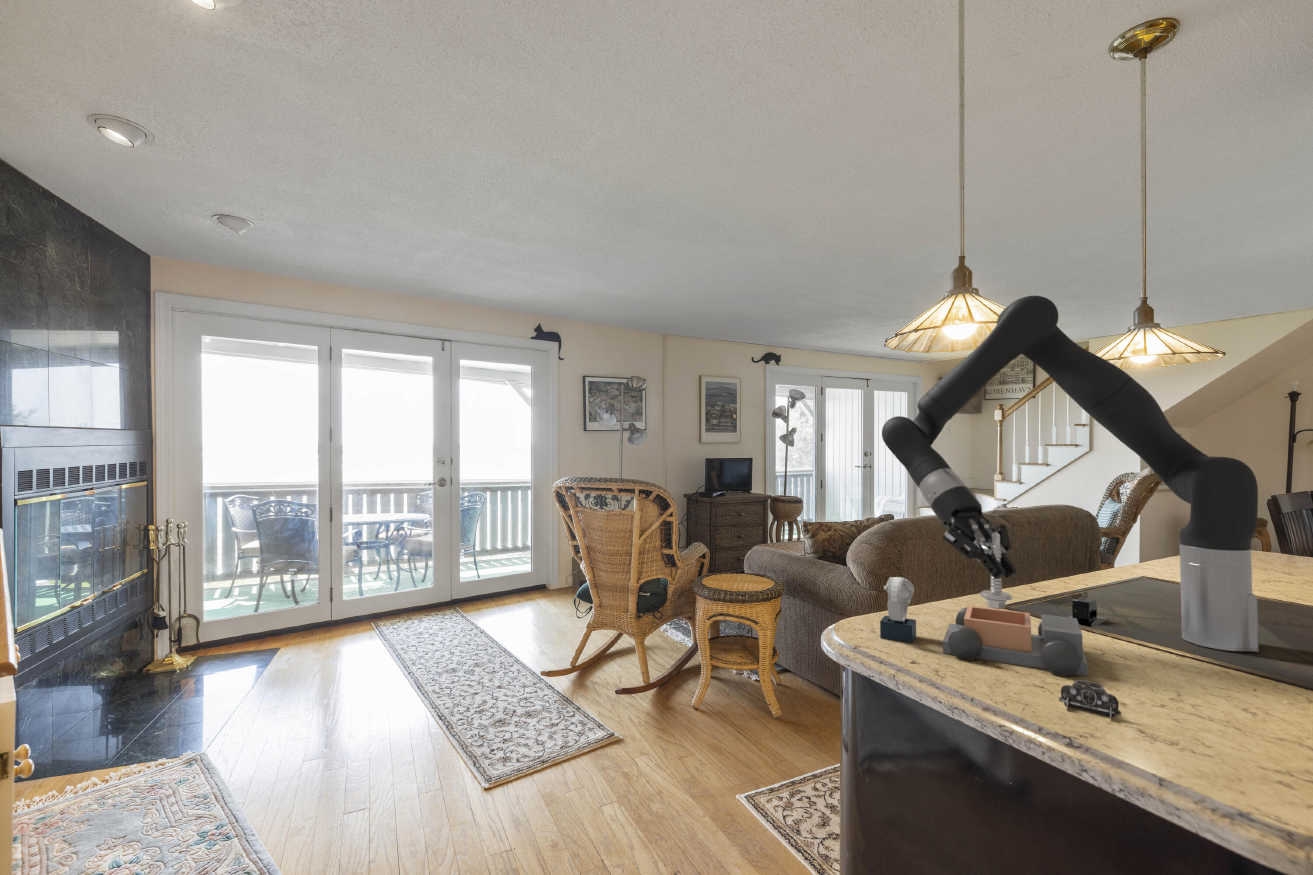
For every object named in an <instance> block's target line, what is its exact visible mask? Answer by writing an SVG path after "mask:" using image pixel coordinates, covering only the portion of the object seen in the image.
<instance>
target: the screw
mask: <svg viewBox="0 0 1313 875" xmlns="http://www.w3.org/2000/svg"><path fill="white" fill-rule="evenodd" d="M1001 550H1002V549H1000V534H998V533H997V532H994V533H992V534H991V550H990V551H991V553H990V554H993V555H994V556H995V558H996V559H997V560H998V562H999V563H1000V564H1002V563H1001V560H1002V559H1001V557H1002V556H1001V554H1002V552H1001ZM989 575H990V577H989V578H990V580H989V582H990V584H989V585H990V587H989V588H990V589H988V590H987V589H984V590H982V591H981V592H979V596H980V597H982V598H983V599H984V598H985V599H984V600H986V606H987V607H988V608H992V609H1000V610H1006V602H1008V601H1011V600H1012V599H1013V596H1012V595H1011V594H1010V593H1009V592H1006V591H1003V589H1002V588H1003V586H1002V585H1003V583H1002V581H1003V579H1002V578H1003V576H1002V577H1001V578H1000V579H995V578H994V577H993V576H992V575H991V574H990V573H989Z"/></svg>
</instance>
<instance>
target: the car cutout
mask: <svg viewBox="0 0 1313 875" xmlns="http://www.w3.org/2000/svg"><path fill="white" fill-rule="evenodd" d="M1058 701H1059V702H1060V703H1063V704H1064V706H1065V707H1066V710H1068V709H1069V708H1071V709H1076V710H1081V711H1084V712H1089V713H1092V714H1098V715H1101V716H1106V717H1109V719H1110V720H1109V721H1110V722H1112V718H1115V717H1116V715H1117V716H1121V715H1122V711H1121V710H1119V700H1118V698H1117V697H1116V696H1115V695H1114V694H1112V693H1108V692H1107V691H1106V690H1105V688H1104V686H1103V685H1101V684H1099V683H1096V682H1093V681H1088V680H1083V679H1081V680H1080V679H1075V680H1074V682H1073V683H1072V684H1071V685H1070V684H1065V685H1063V686H1062V687H1061V689H1060V696H1059V697H1058Z"/></svg>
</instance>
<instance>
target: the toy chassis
mask: <svg viewBox="0 0 1313 875" xmlns="http://www.w3.org/2000/svg"><path fill="white" fill-rule="evenodd" d="M1040 615H1041V621H1040V622H1039V623H1038V626H1037V632H1038V633H1037V634H1033V633H1032V625H1031V624H1032V621H1031V612H1024V611H1023V612H1022V611H1016V610H1006V609H995V608H990V607H983V606H982V607H981V606H974V605H967V606H966V607H964V608H961V609H960V610H959V611H958V612H957V614H956V617H955V623H952V622H951V623H950V622H949V624H948V627H947V630H946V632H945V634H944V637H943V640H942V653H943V654H946V655H947V654H948V655H954V656H955V657H957V658H958V659H960V660H962V661H974V660H976V659H980V660H984V661H991V662H998V663H1005V664H1010V665H1016V666H1017V665H1018V666H1022V667H1023V666H1024V667H1027V668H1028V667H1029V668H1036V669H1041V670H1047V671H1049V673H1052V674H1053V675H1056V676H1060V677H1070V676H1073V675H1079V676H1085V677H1088V676H1089V670H1088V669H1089V668H1088V661H1087V656H1086V654H1085V651H1084V648H1083V645H1084V643H1083V642H1084V641H1083V632H1082V629H1081V625H1079V623H1078V621H1077V618H1069V617H1070V616H1061V615H1059V616H1058V615H1050V614H1043V613H1042V614H1040Z"/></svg>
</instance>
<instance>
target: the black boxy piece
mask: <svg viewBox="0 0 1313 875" xmlns="http://www.w3.org/2000/svg"><path fill="white" fill-rule="evenodd" d="M1071 606H1072V608H1071V610H1072V611H1071V612H1072V613H1071V614H1072V615H1069V616H1068V617H1069V618H1077V621H1078V623H1079V626H1085V627H1090V628H1094V627H1095V626H1098V625H1100V624H1102V623H1104V622H1106V621H1109V620H1110V618H1107V617H1102V616H1098V605H1097V599H1091V598H1085V597H1081V596H1080V597H1077V598H1074V599H1072V604H1071Z"/></svg>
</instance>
